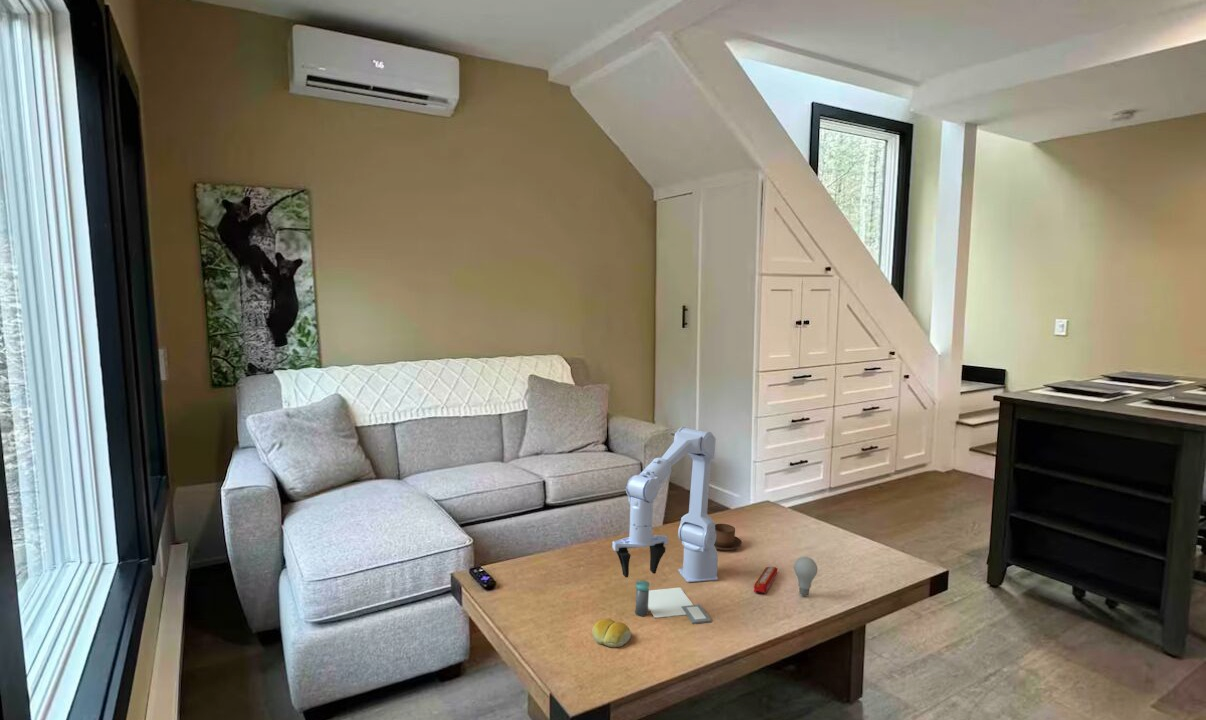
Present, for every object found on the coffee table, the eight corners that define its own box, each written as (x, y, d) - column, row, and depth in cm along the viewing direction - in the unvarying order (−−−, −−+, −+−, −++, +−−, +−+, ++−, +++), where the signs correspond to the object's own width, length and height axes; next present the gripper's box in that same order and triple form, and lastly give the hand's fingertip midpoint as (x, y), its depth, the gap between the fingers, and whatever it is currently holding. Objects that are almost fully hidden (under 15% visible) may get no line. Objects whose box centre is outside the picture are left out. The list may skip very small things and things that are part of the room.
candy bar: (766, 572, 189) (766, 562, 188) (778, 575, 187) (779, 565, 187) (751, 594, 175) (752, 584, 174) (765, 597, 173) (765, 587, 173)
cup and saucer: (703, 537, 214) (704, 519, 213) (740, 540, 212) (741, 522, 211) (704, 552, 202) (705, 533, 201) (742, 555, 200) (743, 536, 199)
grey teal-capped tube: (646, 609, 165) (647, 579, 164) (650, 615, 161) (651, 585, 161) (633, 610, 164) (634, 581, 163) (637, 617, 161) (638, 587, 160)
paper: (680, 588, 177) (680, 587, 177) (699, 613, 163) (699, 612, 163) (638, 591, 174) (638, 591, 174) (654, 618, 160) (654, 617, 160)
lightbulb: (815, 593, 176) (818, 555, 175) (815, 603, 170) (818, 564, 169) (792, 589, 178) (795, 551, 177) (791, 599, 172) (794, 560, 171)
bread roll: (603, 625, 157) (603, 609, 157) (635, 636, 152) (635, 620, 152) (584, 640, 150) (584, 624, 150) (616, 652, 145) (617, 636, 145)
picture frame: (699, 606, 167) (699, 604, 167) (711, 622, 159) (711, 619, 159) (681, 608, 166) (681, 605, 166) (692, 624, 158) (692, 621, 158)
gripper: (660, 514, 167) (658, 563, 169) (608, 520, 162) (607, 570, 164) (672, 524, 161) (670, 575, 162) (618, 530, 156) (617, 582, 157)
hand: (639, 573), depth 163 cm, fingers open, 7 cm apart
